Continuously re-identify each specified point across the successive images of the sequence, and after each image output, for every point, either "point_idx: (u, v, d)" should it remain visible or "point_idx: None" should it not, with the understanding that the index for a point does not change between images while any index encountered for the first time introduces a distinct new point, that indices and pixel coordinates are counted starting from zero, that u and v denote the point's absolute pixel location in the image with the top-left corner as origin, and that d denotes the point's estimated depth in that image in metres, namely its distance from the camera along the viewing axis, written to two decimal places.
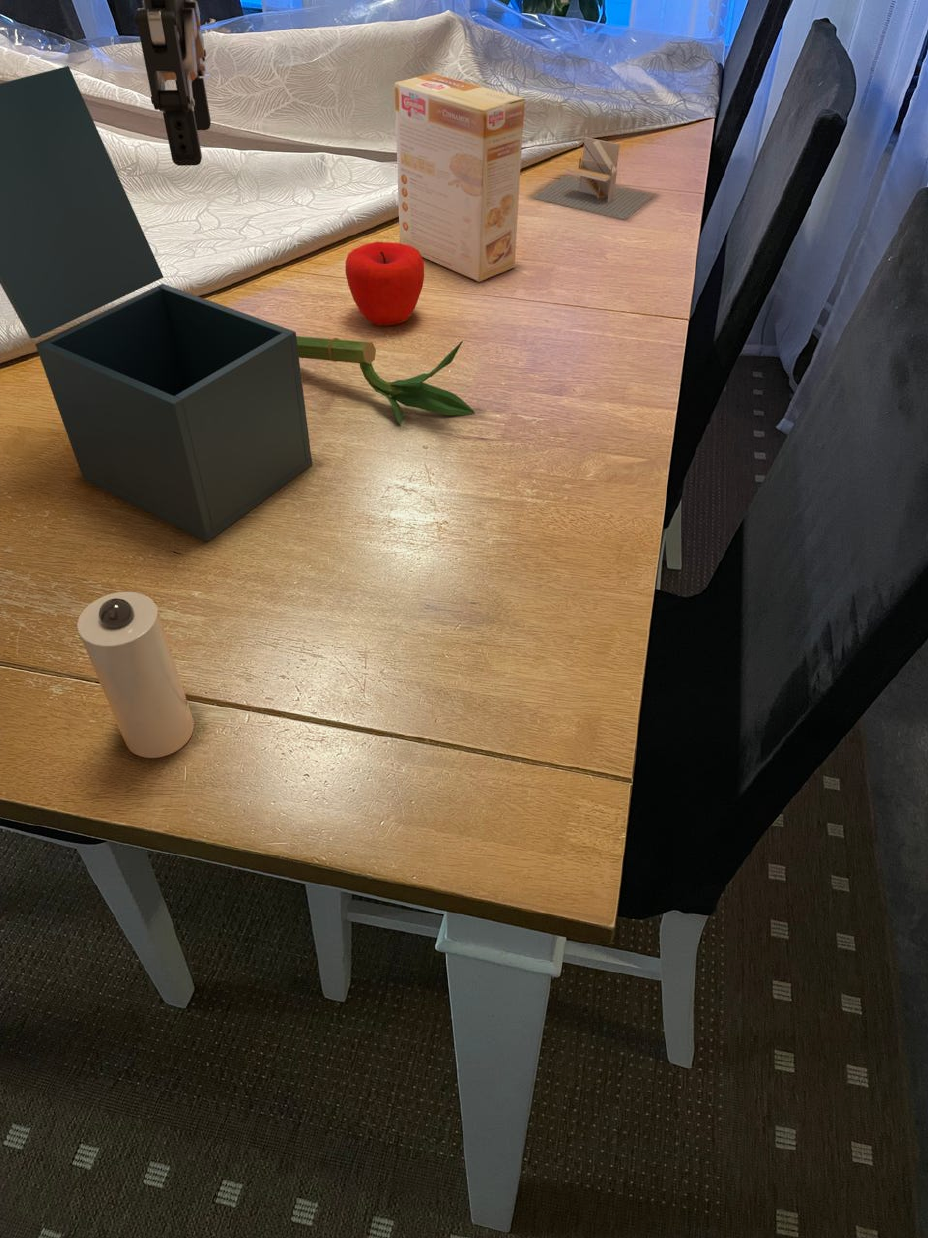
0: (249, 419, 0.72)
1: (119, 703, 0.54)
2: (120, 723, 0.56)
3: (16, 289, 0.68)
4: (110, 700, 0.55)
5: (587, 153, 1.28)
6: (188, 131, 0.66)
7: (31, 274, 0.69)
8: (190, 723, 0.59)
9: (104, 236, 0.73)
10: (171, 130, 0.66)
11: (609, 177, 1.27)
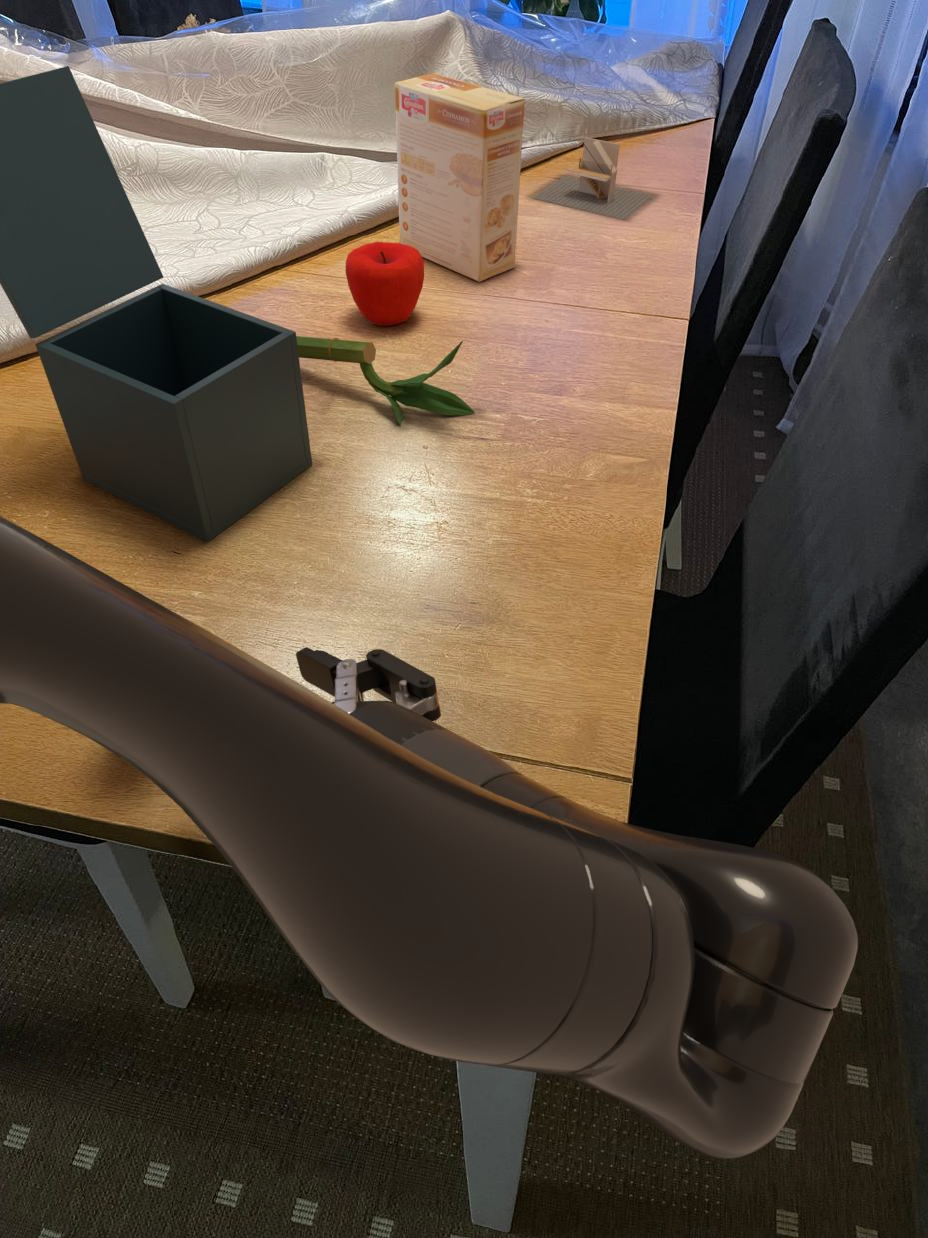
0: (249, 419, 0.72)
1: None
2: None
3: (16, 289, 0.68)
4: None
5: (587, 153, 1.28)
6: None
7: (31, 274, 0.69)
8: None
9: (104, 236, 0.73)
10: None
11: (609, 177, 1.27)
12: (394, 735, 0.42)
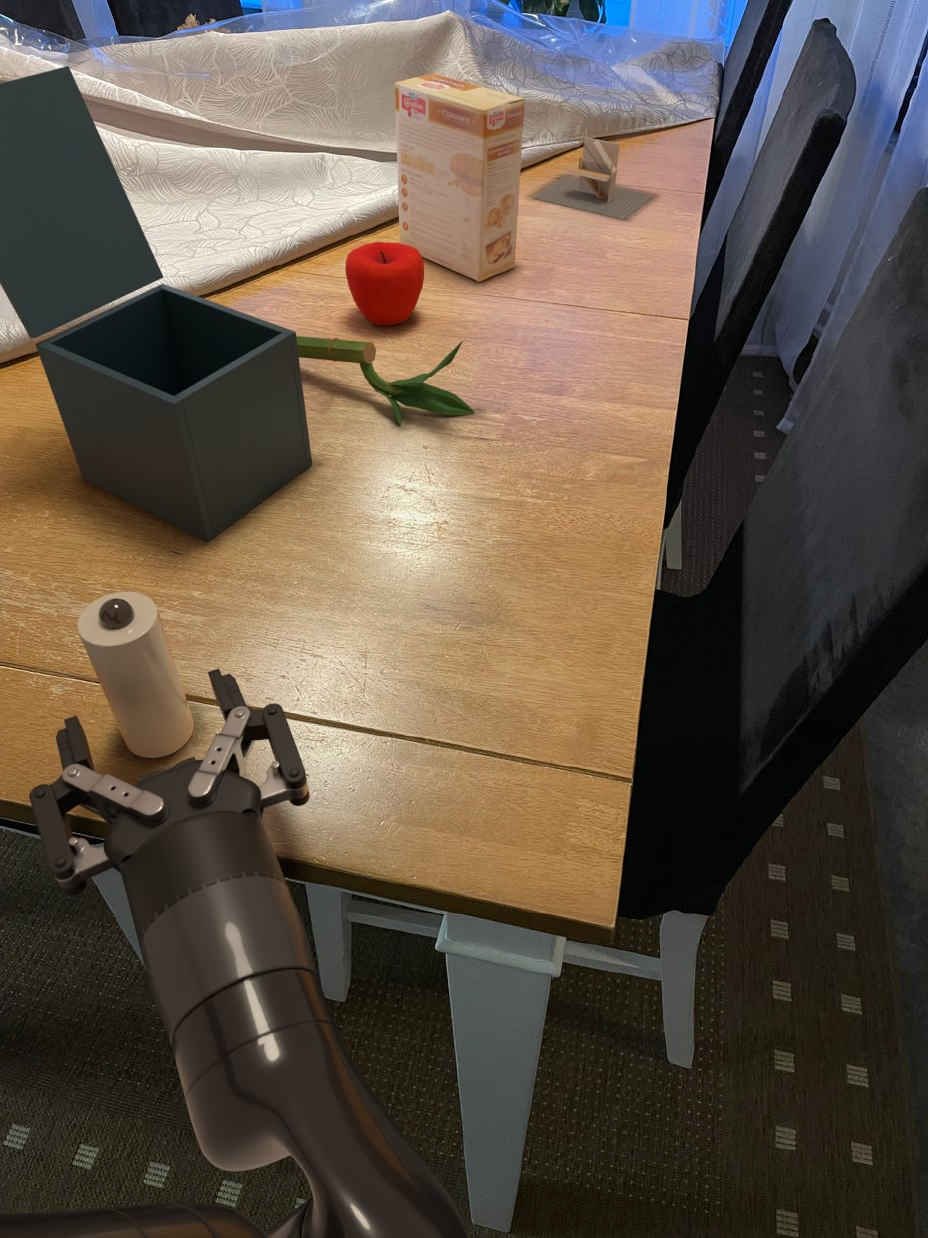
0: (249, 419, 0.72)
1: (119, 703, 0.54)
2: (120, 723, 0.56)
3: (16, 289, 0.68)
4: (110, 700, 0.55)
5: (587, 153, 1.28)
6: None
7: (31, 274, 0.69)
8: (190, 723, 0.59)
9: (104, 236, 0.73)
10: None
11: (609, 177, 1.27)
12: (198, 875, 0.42)
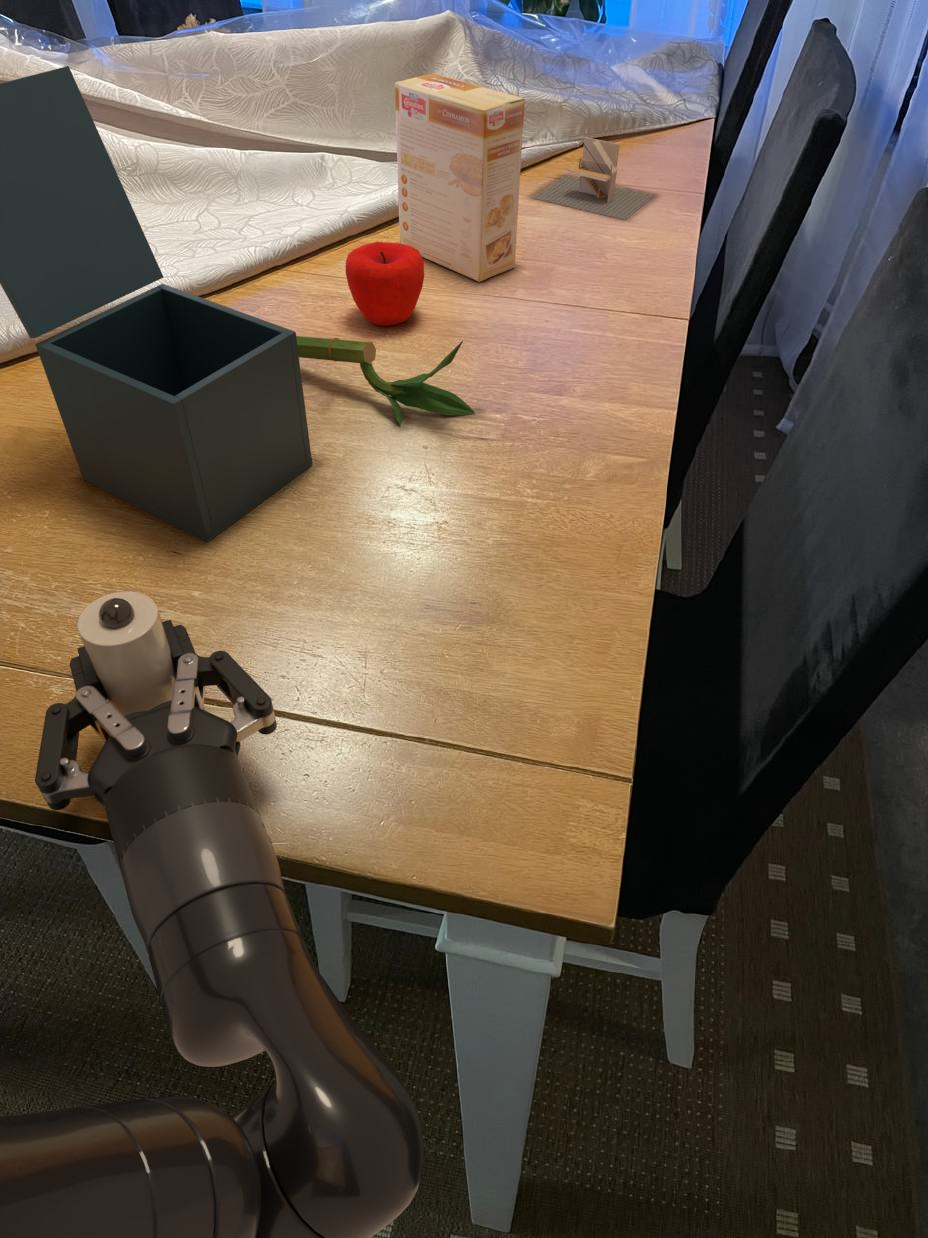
0: (249, 419, 0.72)
1: (119, 703, 0.54)
2: None
3: (16, 289, 0.68)
4: (110, 700, 0.55)
5: (587, 153, 1.28)
6: None
7: (31, 274, 0.69)
8: None
9: (104, 236, 0.73)
10: (74, 683, 0.54)
11: (609, 176, 1.27)
12: (174, 799, 0.44)
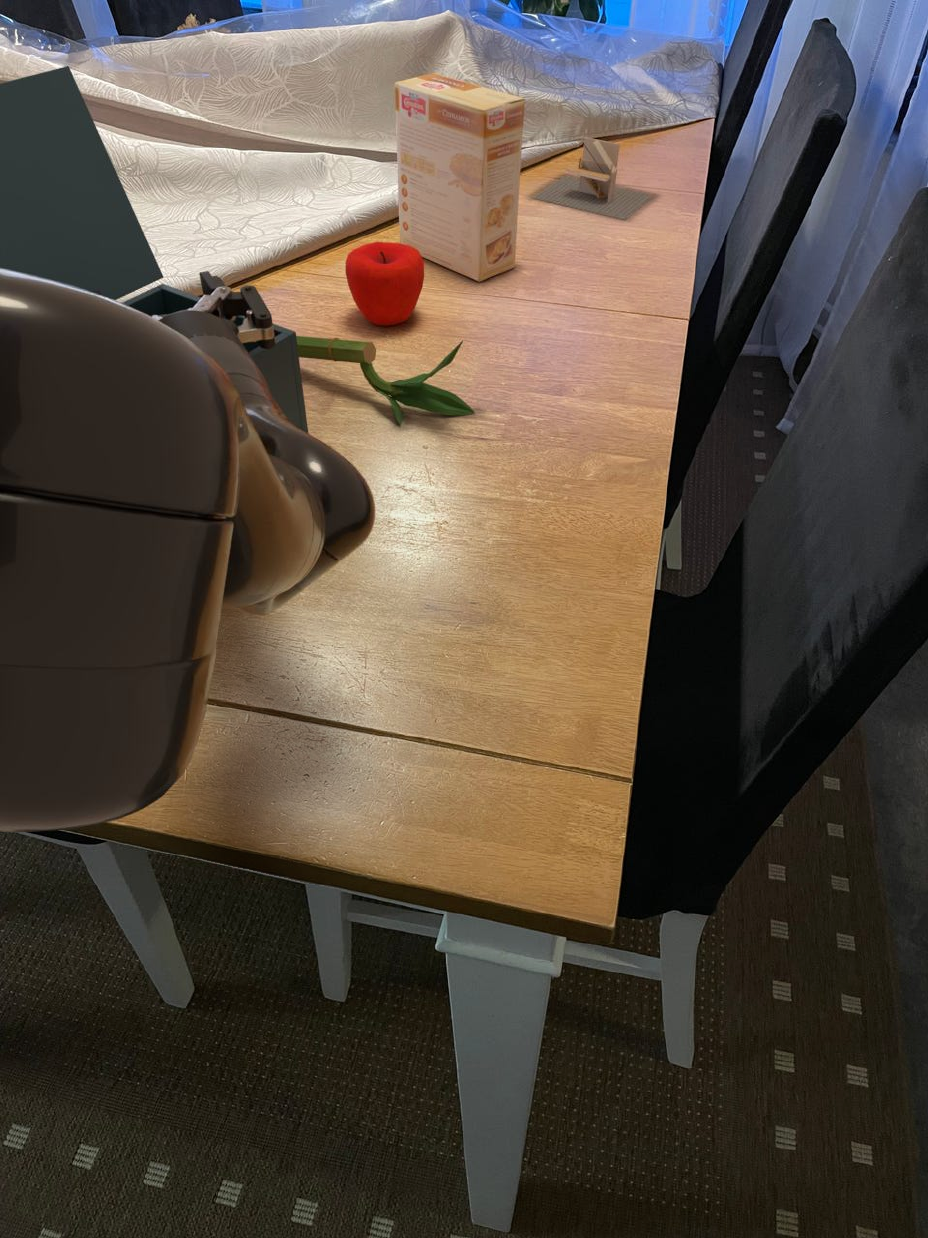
0: None
1: None
2: None
3: None
4: None
5: (587, 153, 1.28)
6: None
7: (31, 274, 0.69)
8: None
9: (104, 236, 0.73)
10: None
11: (609, 177, 1.27)
12: (190, 331, 0.58)
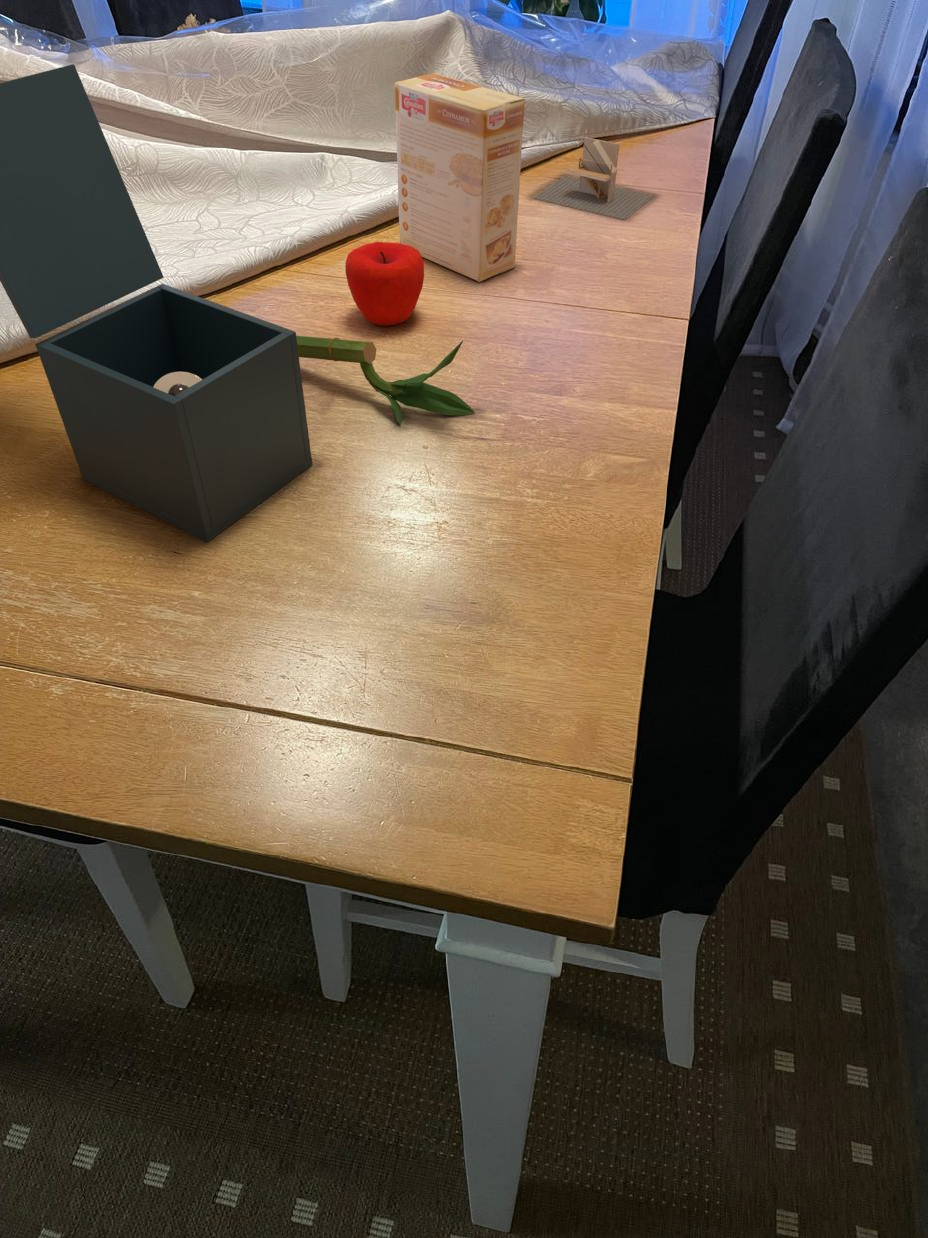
0: (249, 419, 0.72)
1: None
2: None
3: (17, 289, 0.68)
4: None
5: (587, 153, 1.28)
6: None
7: (33, 274, 0.69)
8: None
9: (106, 236, 0.73)
10: None
11: (609, 177, 1.27)
12: None
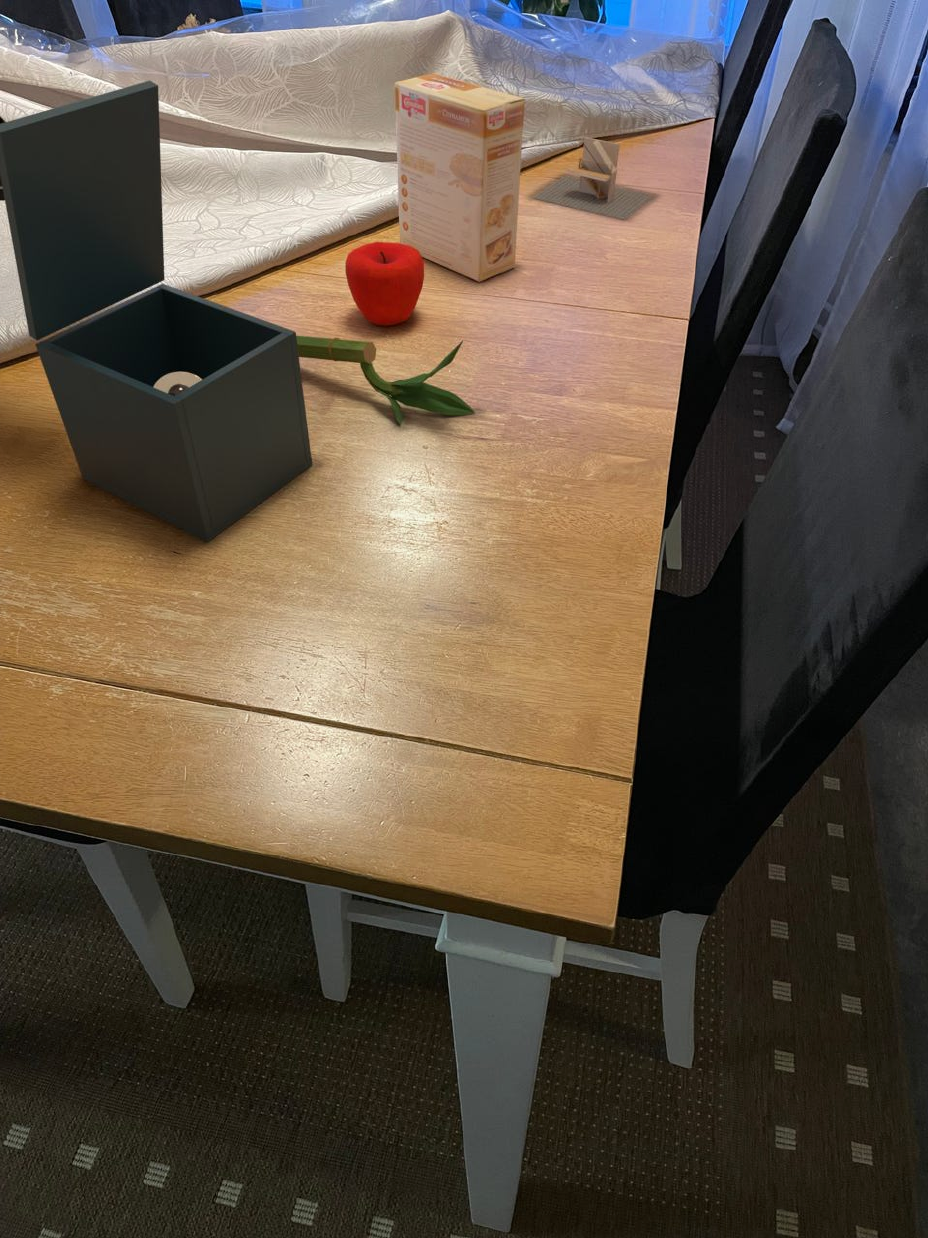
0: (249, 419, 0.72)
1: None
2: None
3: (35, 299, 0.67)
4: None
5: (587, 153, 1.28)
6: None
7: (54, 284, 0.68)
8: None
9: (128, 246, 0.72)
10: None
11: (609, 177, 1.27)
12: None
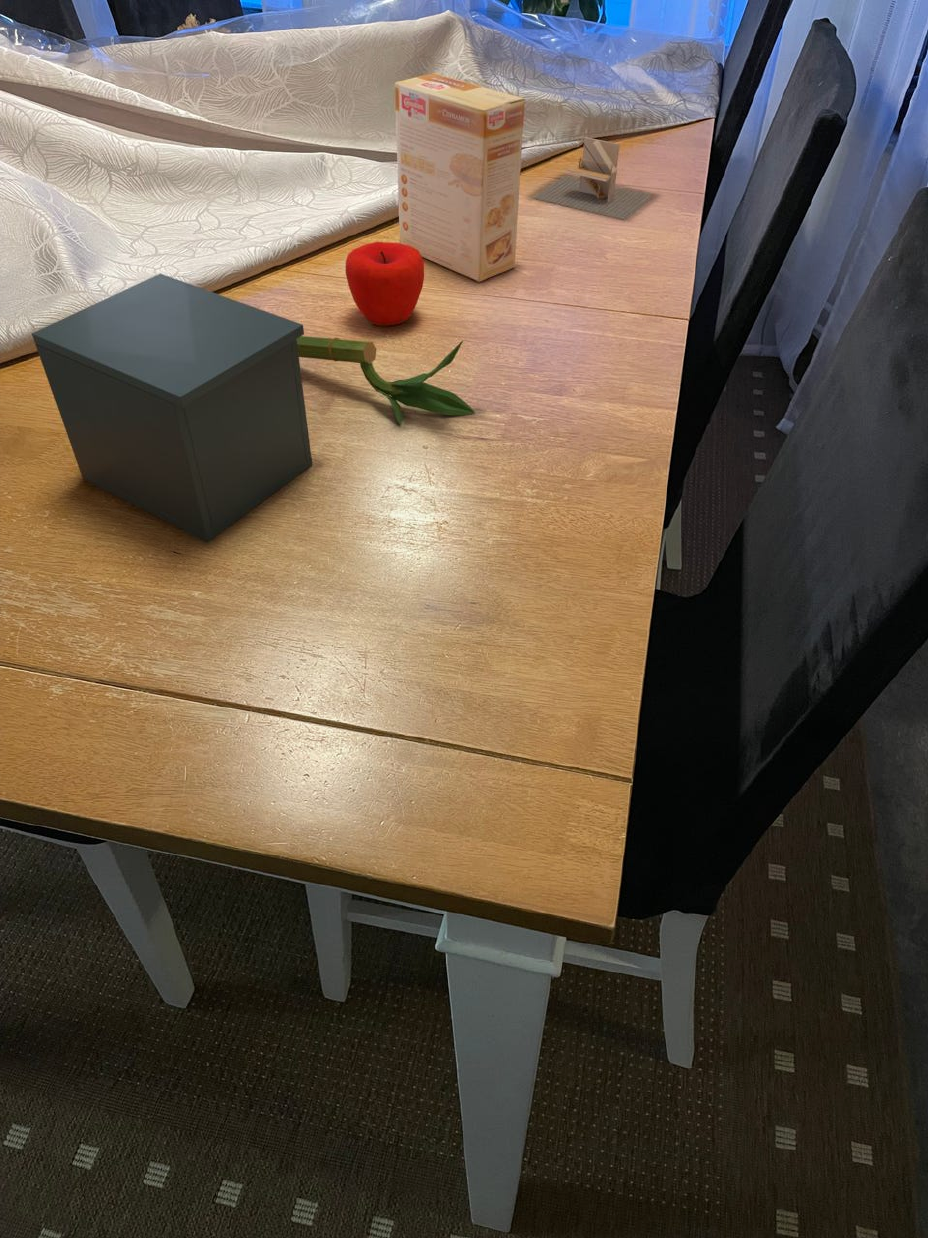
0: (249, 419, 0.72)
1: None
2: None
3: None
4: None
5: (587, 153, 1.28)
6: None
7: None
8: None
9: None
10: None
11: (609, 177, 1.27)
12: None
